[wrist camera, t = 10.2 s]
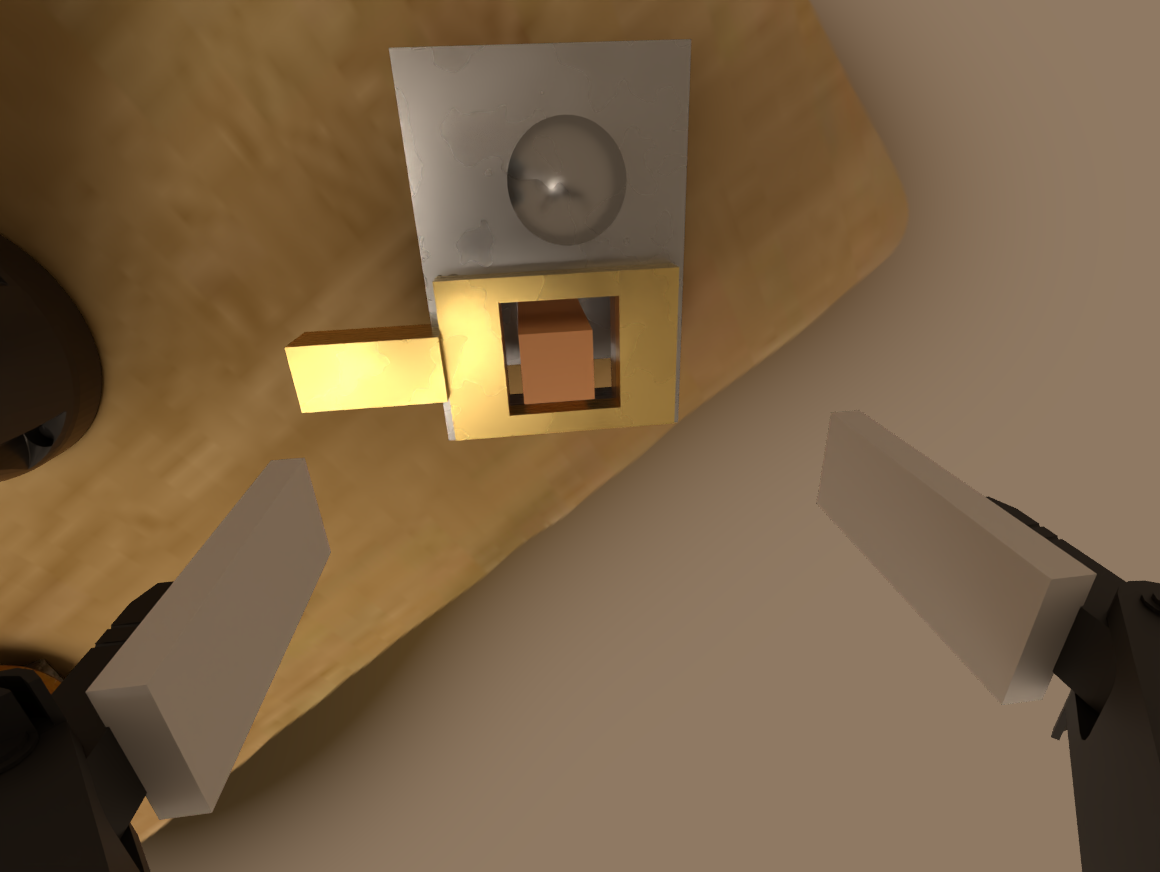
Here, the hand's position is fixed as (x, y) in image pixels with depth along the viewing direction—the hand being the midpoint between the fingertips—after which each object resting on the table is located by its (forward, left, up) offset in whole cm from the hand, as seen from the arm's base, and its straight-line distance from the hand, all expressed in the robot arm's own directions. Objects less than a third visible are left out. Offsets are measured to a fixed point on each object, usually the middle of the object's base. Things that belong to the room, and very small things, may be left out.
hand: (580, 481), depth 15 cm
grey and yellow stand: (-2, +4, -21) cm, 22 cm away
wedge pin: (0, 0, -20) cm, 20 cm away
